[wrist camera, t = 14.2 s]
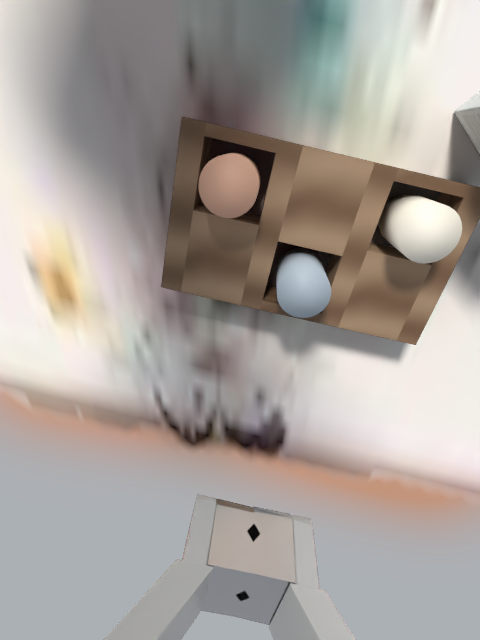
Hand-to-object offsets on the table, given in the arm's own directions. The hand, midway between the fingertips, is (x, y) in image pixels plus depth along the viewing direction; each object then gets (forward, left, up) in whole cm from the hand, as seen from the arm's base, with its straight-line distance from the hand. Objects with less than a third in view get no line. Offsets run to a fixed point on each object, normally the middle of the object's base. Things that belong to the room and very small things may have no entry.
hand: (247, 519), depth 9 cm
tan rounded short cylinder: (-5, -4, -29) cm, 30 cm away
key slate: (+2, +4, -29) cm, 29 cm away
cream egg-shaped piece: (-5, +12, -29) cm, 32 cm away
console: (-2, +4, -31) cm, 31 cm away
